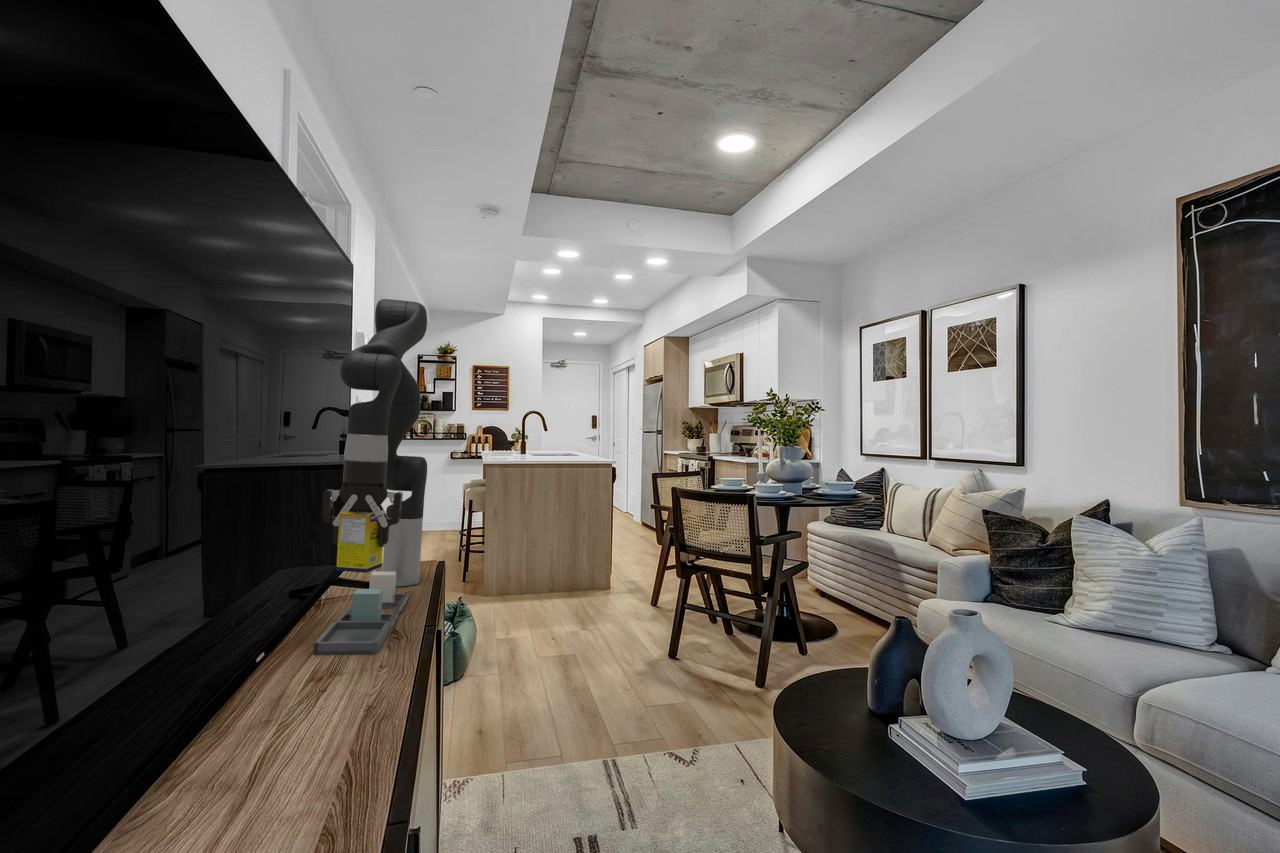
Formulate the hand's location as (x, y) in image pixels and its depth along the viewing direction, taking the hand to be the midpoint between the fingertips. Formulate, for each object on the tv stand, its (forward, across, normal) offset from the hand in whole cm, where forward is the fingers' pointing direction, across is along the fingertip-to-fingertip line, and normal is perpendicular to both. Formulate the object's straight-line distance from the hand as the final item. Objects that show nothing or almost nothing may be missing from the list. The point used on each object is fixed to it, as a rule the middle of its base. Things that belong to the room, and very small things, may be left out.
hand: (360, 545), depth 120 cm
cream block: (+18, 0, -27) cm, 33 cm away
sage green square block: (+18, 0, -10) cm, 21 cm away
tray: (+18, 0, 0) cm, 18 cm away
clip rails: (+18, 0, -19) cm, 26 cm away
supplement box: (+5, 0, 0) cm, 5 cm away
